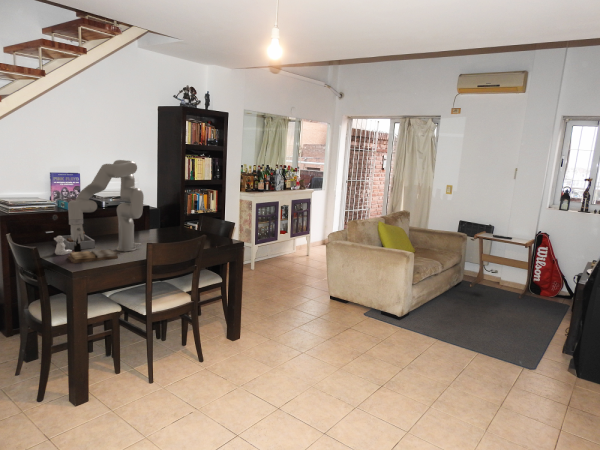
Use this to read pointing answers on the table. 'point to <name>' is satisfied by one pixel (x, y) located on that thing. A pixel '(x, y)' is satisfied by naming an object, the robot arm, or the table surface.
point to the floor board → (97, 256)
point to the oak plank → (82, 255)
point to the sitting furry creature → (61, 246)
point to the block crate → (84, 244)
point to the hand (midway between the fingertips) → (77, 251)
